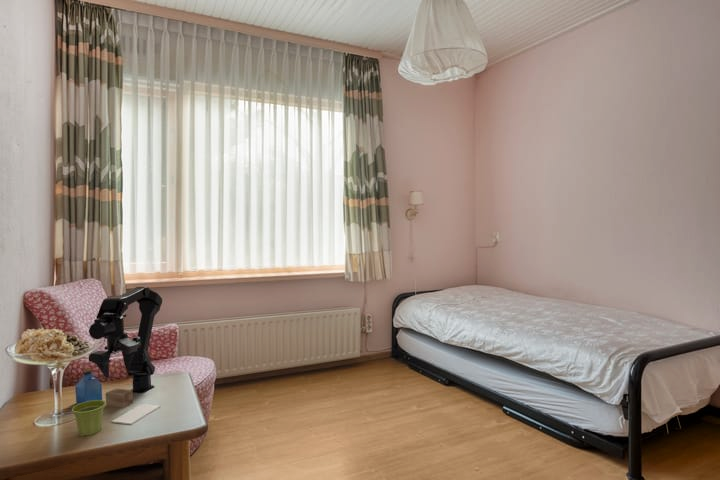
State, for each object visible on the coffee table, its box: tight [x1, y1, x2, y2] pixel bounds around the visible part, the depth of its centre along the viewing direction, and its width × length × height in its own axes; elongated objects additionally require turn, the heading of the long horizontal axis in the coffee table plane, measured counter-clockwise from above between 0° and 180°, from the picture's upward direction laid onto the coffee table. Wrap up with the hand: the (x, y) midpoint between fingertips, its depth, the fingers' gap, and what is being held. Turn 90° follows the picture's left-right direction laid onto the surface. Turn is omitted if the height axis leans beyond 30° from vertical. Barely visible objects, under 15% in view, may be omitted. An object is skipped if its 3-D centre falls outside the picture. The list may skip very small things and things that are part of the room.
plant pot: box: [71, 399, 106, 436], centre depth 143 cm, size 9×9×9 cm
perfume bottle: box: [75, 368, 103, 405], centre depth 167 cm, size 6×6×12 cm
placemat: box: [111, 403, 161, 426], centre depth 155 cm, size 14×8×1 cm, turn 165°
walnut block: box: [105, 388, 134, 409], centre depth 164 cm, size 4×8×5 cm, turn 73°
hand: (117, 373), depth 162 cm, fingers open, 9 cm apart
